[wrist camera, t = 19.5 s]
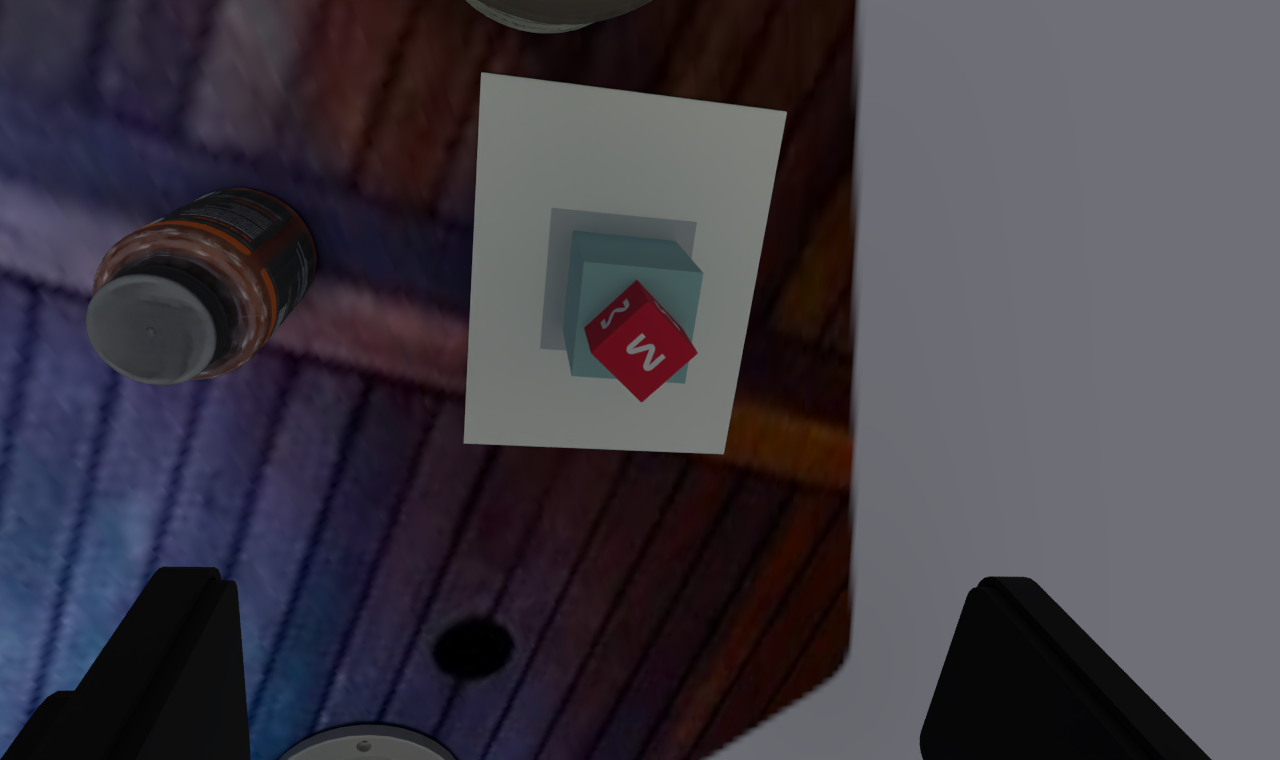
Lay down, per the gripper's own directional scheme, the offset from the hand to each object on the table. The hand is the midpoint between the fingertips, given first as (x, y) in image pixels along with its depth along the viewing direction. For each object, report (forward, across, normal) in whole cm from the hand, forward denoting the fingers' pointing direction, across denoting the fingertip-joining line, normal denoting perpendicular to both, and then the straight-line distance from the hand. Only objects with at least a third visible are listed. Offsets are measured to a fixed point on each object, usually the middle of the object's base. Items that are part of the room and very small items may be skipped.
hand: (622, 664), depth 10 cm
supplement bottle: (+31, +13, +3) cm, 33 cm away
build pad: (+30, -4, +3) cm, 31 cm away
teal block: (+29, -4, +3) cm, 30 cm away
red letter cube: (+23, -4, +3) cm, 24 cm away
